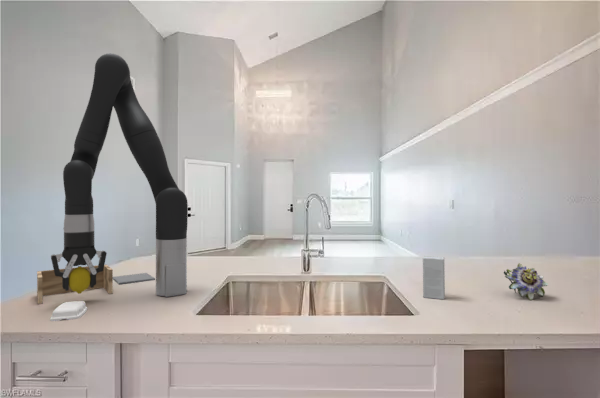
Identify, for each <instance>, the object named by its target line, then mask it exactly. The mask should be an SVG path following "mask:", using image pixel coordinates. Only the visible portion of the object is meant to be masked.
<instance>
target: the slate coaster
mask: <svg viewBox="0 0 600 398" xmlns="http://www.w3.org/2000/svg"><path fill="white" fill-rule="evenodd" d="M113 281H114V282H115V283H117V284H118V285H126V284H133V283H134V284H135V283H143V282H149V281H156V277H154V276H152V275H150V274H149V273H148V272H142V273H134V274H133V273H132V274H125V275H118V276H117V275H116V276H113Z"/></svg>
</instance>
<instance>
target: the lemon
mask: <svg viewBox="0 0 600 398" xmlns="http://www.w3.org/2000/svg"><path fill="white" fill-rule="evenodd" d="M76 267H77V268H76ZM76 267H74V268H75V269H74V270H72V271H71V273H70V275H69V287H70V289H71V290H73V291H75V293H77V294H79V295H81V294H82V293H83V292H84V291H87V290H86V289H87V288H88V287H89V285H90V282H91V276H90V273H89V271H88V270H87V269H86V268H83V267H84V266H82V265H78V266H76Z"/></svg>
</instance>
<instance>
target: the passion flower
mask: <svg viewBox="0 0 600 398" xmlns="http://www.w3.org/2000/svg"><path fill="white" fill-rule="evenodd" d="M503 274H504V275H505V276H504V278H506V279H508V280H509V281H510V284H509V285H508V288H509V290H513V291H514V293H515V294H519V296H520V298H523V297H526V298H527V299H528V300H529V301H532V300H533V299H534V295H535V294H537V295H539V296H542V297H544V296H545V294H546V291H545V289H544V287H547V286H549V282H546V281H544V276H543V275H541V274H539V273H538V272H537V270H536V268H535V267H531V268H527V266H523V265H522V263H521V262H518V263H517V266H516V267H515V268H513V269H509V268H507V269H506V270H503ZM538 274H539V275H538ZM516 289H517V290H516ZM517 292H518V293H517Z"/></svg>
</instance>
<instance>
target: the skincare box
mask: <svg viewBox="0 0 600 398" xmlns="http://www.w3.org/2000/svg"><path fill="white" fill-rule="evenodd" d="M445 272H446V271H445V257H443V256H425V255H424V256H423V258H422V297H423V298H426V299H437V300H445V297H446V292H445V291H446V286H445V285H446V282H445V277H446V275H445Z"/></svg>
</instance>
